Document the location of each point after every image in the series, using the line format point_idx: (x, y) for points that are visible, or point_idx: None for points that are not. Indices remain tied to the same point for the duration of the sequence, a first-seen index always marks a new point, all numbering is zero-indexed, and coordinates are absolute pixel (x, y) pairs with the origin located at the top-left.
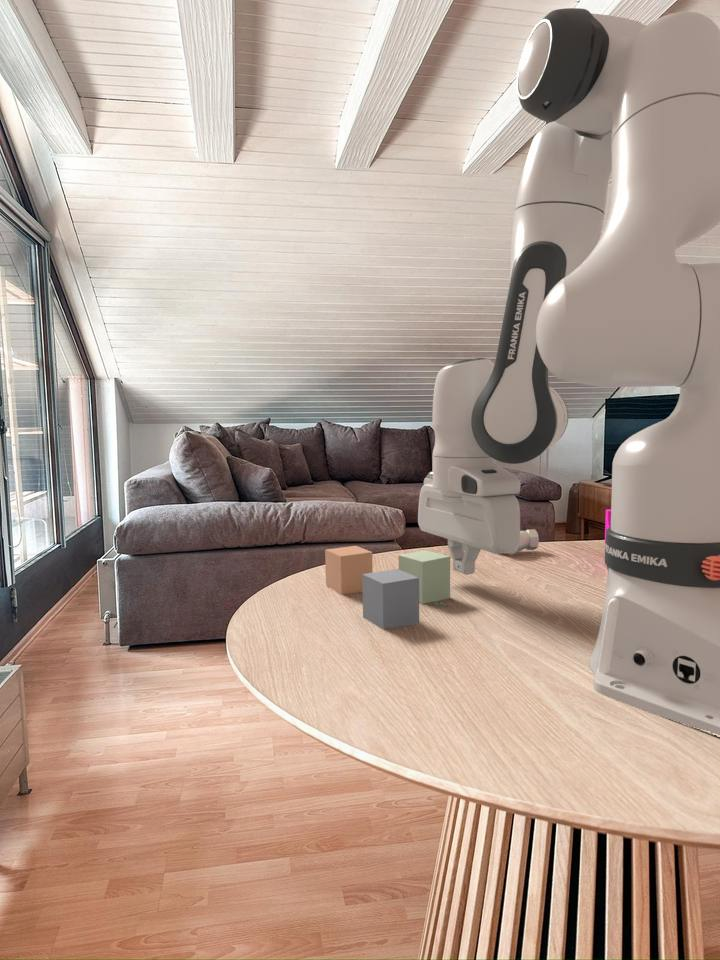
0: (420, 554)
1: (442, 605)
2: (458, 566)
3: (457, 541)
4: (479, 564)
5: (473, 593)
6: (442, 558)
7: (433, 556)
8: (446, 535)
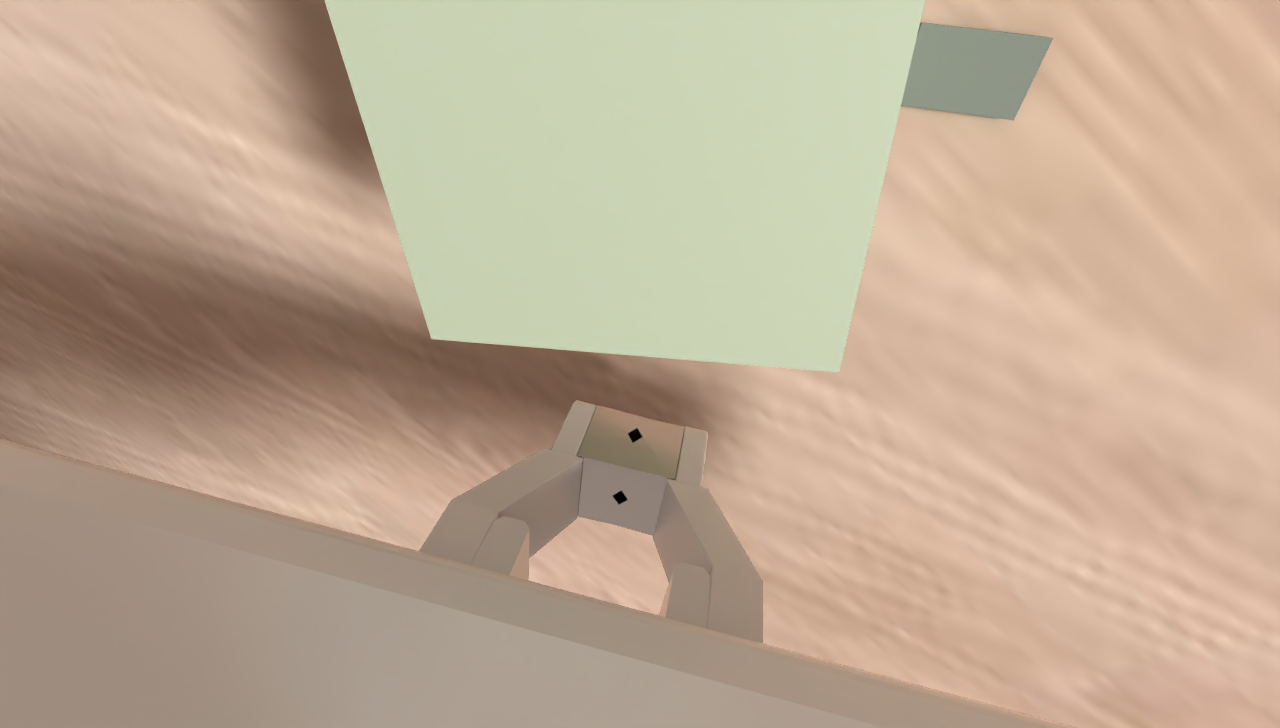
0: (708, 147)
1: None
2: (641, 440)
3: (518, 580)
4: (905, 668)
5: (582, 358)
6: (397, 227)
7: (511, 205)
8: (712, 662)
